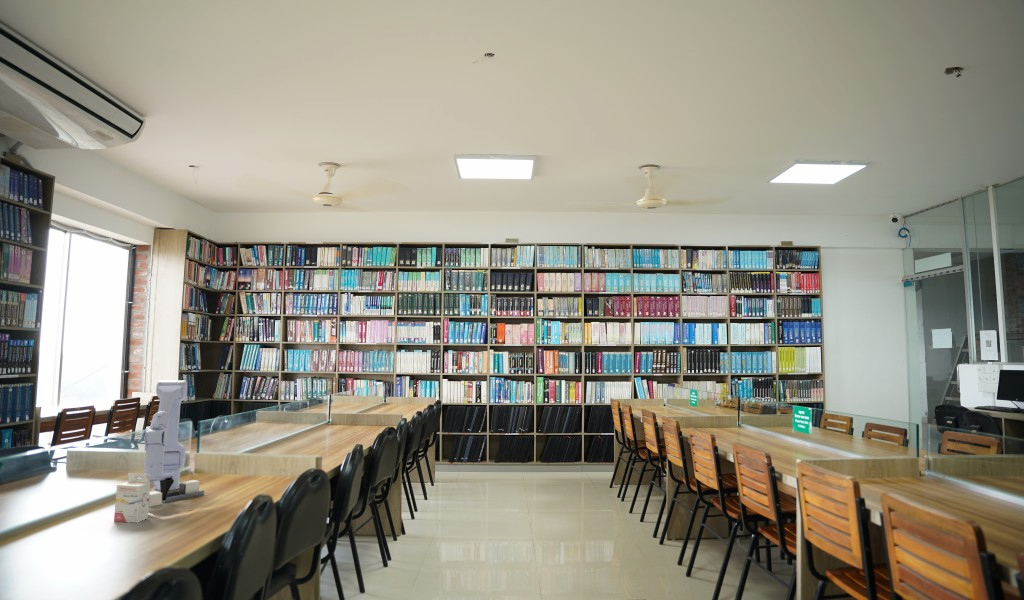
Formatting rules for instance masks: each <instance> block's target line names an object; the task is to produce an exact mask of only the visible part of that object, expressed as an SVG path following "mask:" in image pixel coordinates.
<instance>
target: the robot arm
mask: <svg viewBox="0 0 1024 600" xmlns="http://www.w3.org/2000/svg"><path fill="white" fill-rule="evenodd" d="M155 392H156V396H157V398H158V399H159V404H158V411H157V412H156V413H154V414H153V416H152V419H151V422H150V427H149V429H148V430H146V431H145V434H144V437H143V438H144V440H143V441H144V452H145V458H144V459H145V460H144V470H143V471H144V473H143V474H150V483H152V482H153V488H152V489H151V488H150V489H151V491H154V490H157V491H160V492H161V493H162V501H165V498H166V496H167V493H169V491H172V490H173V491H174V490H175V491H176V490H179V484H180V482H181V481H180V480H181V479H180V478H181V468H182V467H183V466H184V465H185V463H186V460H187V453H186V446H185V445H184V444H183V443H181V442H179V432H180V431H179V429H180V418H181V417H180V416H181V404H182V401H186V400H187V396H188V381H187V380H185V379H184V380H160V379H159V381H157V384H156V391H155ZM136 478H137V479H143V477H140V476H138V477H136Z"/></svg>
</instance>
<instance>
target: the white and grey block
mask: <svg viewBox="0 0 1024 600" xmlns="http://www.w3.org/2000/svg"><path fill="white" fill-rule="evenodd" d="M200 482H201V481H200V480H196V479H190V480H184V481H180V482H179V488H178V491H179V494H180V495H182V494H187V493H192V492H197V491H200Z"/></svg>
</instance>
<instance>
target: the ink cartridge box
mask: <svg viewBox="0 0 1024 600" xmlns="http://www.w3.org/2000/svg"><path fill="white" fill-rule="evenodd" d="M138 477H143V479H137V478H138ZM150 489H151V482H150V474H144V473H142V472H140V473H139V472H128V473H127V481H125V482H123V483H119V484H117V485H116V493H115V504H114V516H113V517H114V518H113V521H114V522H115V523H116V522H117V523H130V522H136V523H135V524H138V523H140V521H141V522H143V521H145V519H146V520H147V518H148V519H149V493H150V492H151V491H150ZM142 520H143V521H142Z"/></svg>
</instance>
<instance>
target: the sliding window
mask: <svg viewBox="0 0 1024 600" xmlns="http://www.w3.org/2000/svg"><path fill="white" fill-rule="evenodd" d="M202 496H205V490H199V491H197V492H192V493H187V494H182V495H180V494H179V490H175V491H170V492H169V491H168V493H167V496H166V498H165V501H162V503H166V504H168V503H169V504H170V503H173V502H178V501H183V500H187V499H193V498H197V497H198V498H199V497H202Z"/></svg>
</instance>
